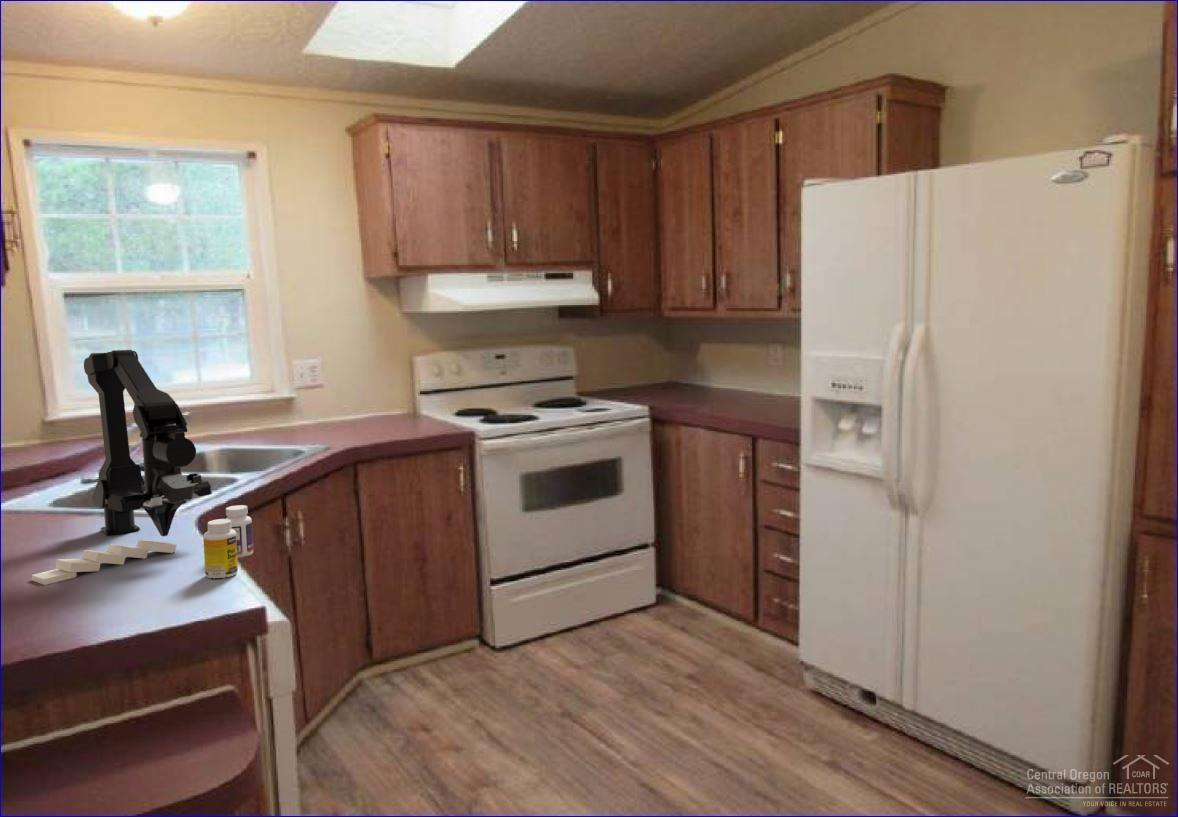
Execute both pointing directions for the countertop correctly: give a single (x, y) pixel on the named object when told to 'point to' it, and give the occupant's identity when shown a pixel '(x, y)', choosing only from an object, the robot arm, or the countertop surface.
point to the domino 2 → (77, 565)
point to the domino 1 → (53, 576)
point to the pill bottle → (241, 529)
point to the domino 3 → (103, 557)
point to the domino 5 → (156, 546)
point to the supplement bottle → (220, 549)
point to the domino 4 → (127, 551)
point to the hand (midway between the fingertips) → (164, 535)
